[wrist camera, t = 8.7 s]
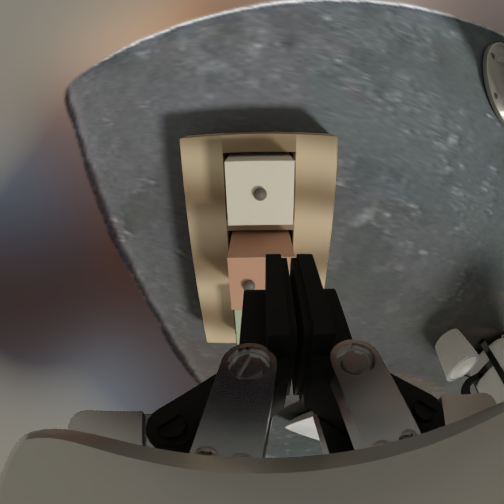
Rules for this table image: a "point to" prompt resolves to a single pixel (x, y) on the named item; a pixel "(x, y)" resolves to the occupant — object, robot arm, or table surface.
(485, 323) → the table surface
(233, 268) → the tan dice block
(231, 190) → the white dice block
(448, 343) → the shot glass
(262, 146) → the wooden dice block tray
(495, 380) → the coffee press
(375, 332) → the table surface
